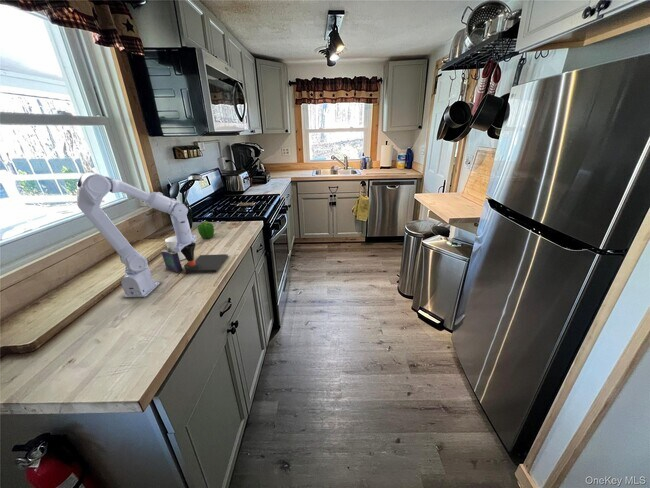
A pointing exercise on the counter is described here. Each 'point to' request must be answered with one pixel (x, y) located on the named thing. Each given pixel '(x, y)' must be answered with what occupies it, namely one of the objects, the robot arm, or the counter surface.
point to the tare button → (191, 263)
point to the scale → (206, 264)
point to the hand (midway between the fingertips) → (190, 260)
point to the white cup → (173, 245)
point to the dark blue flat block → (171, 260)
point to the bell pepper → (206, 230)
